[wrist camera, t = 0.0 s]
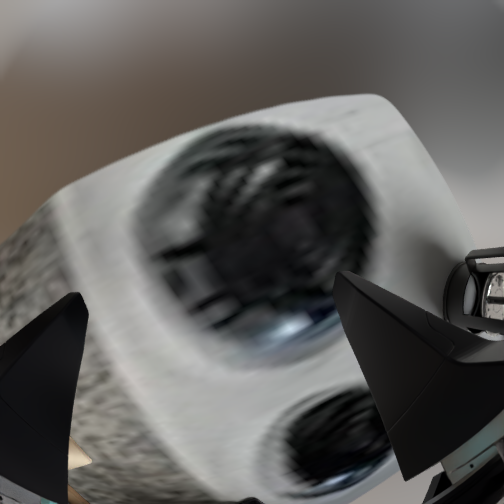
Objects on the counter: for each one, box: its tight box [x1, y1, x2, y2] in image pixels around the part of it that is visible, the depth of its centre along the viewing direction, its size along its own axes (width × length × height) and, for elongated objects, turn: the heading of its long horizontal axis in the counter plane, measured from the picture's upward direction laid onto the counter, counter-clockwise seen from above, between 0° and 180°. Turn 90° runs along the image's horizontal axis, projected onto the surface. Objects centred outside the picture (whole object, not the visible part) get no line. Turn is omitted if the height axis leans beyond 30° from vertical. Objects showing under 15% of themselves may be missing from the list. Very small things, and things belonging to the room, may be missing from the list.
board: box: [68, 437, 92, 470], centre depth 19 cm, size 9×9×1 cm
